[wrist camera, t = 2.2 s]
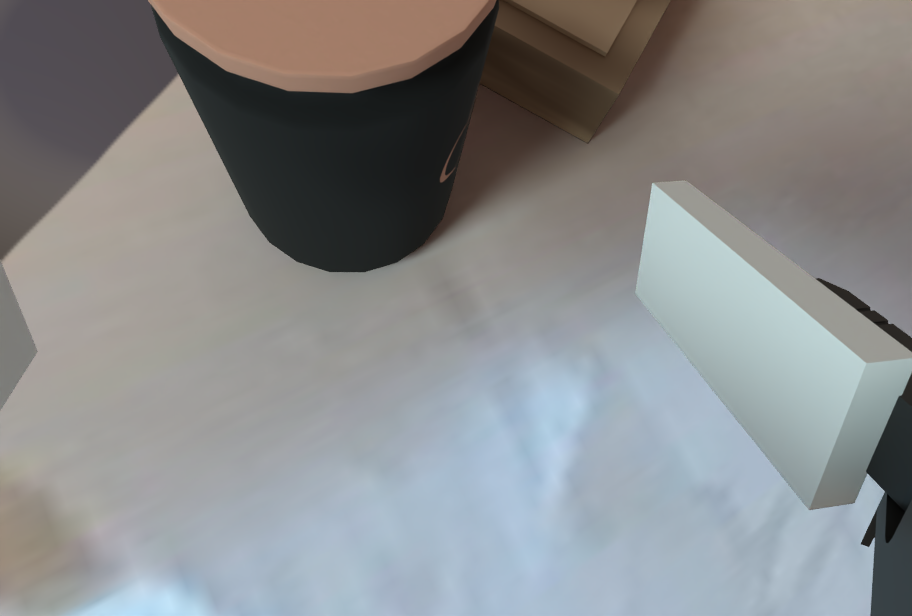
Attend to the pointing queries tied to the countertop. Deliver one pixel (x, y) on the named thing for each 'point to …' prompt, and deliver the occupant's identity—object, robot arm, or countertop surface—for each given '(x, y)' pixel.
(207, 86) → the coffee jar
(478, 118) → the countertop surface
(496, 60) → the wooden tray
